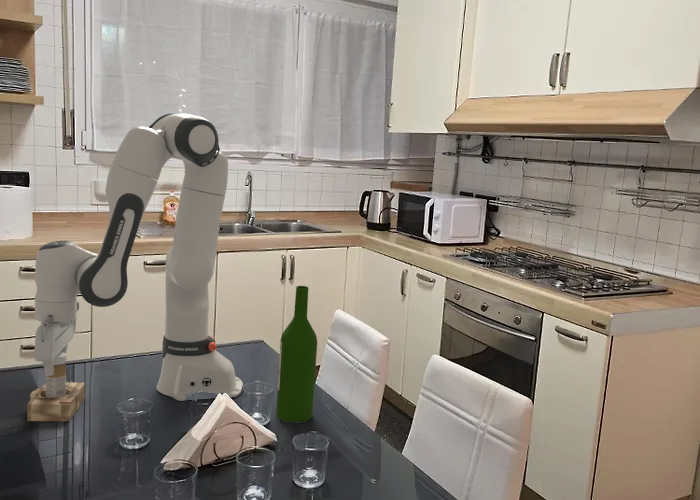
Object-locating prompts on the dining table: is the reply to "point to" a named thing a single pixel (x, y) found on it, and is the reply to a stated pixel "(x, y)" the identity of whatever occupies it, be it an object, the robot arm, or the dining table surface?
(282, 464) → the dining table surface
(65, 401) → the socket block
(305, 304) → the wine bottle
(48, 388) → the sprinkles bottle
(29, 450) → the dining table surface
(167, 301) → the robot arm
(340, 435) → the dining table surface
